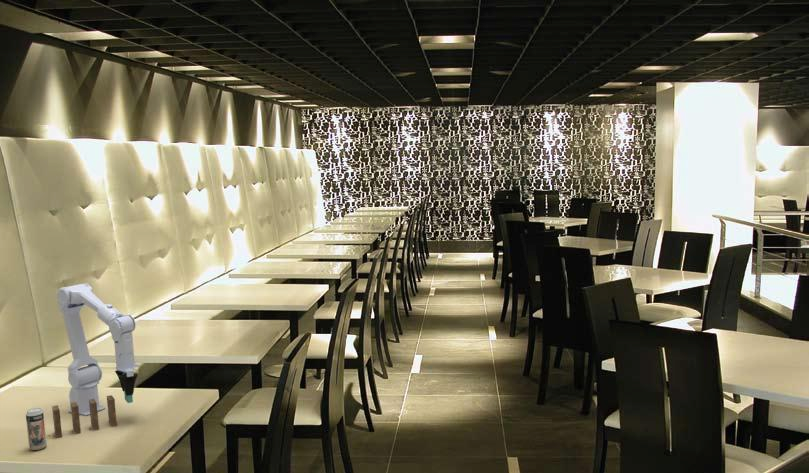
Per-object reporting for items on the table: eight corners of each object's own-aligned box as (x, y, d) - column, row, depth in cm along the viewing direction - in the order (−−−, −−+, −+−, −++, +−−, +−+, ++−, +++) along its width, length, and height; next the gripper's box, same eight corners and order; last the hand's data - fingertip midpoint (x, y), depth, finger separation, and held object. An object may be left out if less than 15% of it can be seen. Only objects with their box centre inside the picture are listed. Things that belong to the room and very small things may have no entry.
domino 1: (56, 438, 246) (53, 410, 245) (54, 433, 250) (52, 406, 249) (62, 437, 247) (59, 409, 246) (60, 432, 251) (57, 405, 250)
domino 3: (93, 430, 251) (91, 403, 250) (91, 426, 256) (88, 399, 255) (99, 429, 252) (96, 402, 251) (96, 425, 256) (94, 398, 255)
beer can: (29, 452, 235) (25, 414, 233) (29, 447, 239) (25, 409, 237) (47, 449, 237) (43, 410, 235) (46, 444, 241) (42, 406, 240)
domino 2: (75, 434, 249) (72, 407, 248) (73, 429, 253) (70, 402, 252) (80, 433, 249) (78, 405, 248) (78, 428, 254) (76, 401, 253)
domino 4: (111, 426, 254) (109, 400, 253) (108, 422, 258) (106, 396, 257) (116, 425, 255) (114, 399, 254) (114, 421, 259) (111, 395, 258)
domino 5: (127, 403, 256) (125, 376, 255) (124, 399, 260) (122, 372, 259) (132, 402, 257) (130, 375, 256) (129, 398, 261) (127, 372, 260)
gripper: (141, 355, 252) (145, 396, 254) (132, 346, 265) (135, 385, 266) (118, 359, 249) (122, 400, 250) (110, 349, 261) (114, 389, 263)
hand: (127, 392), depth 258 cm, fingers closed on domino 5, 5 cm apart
